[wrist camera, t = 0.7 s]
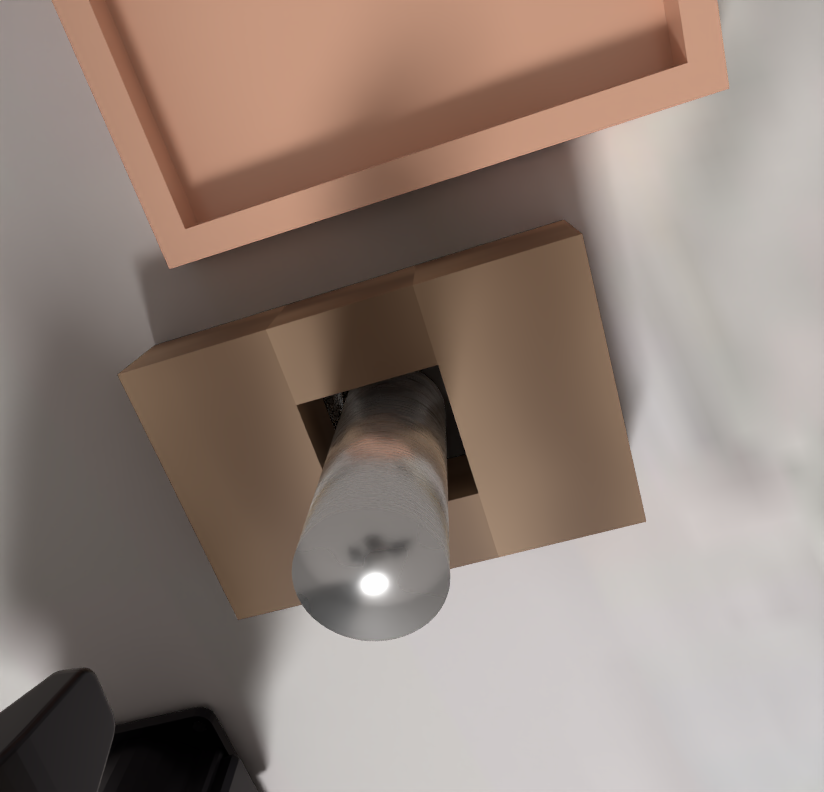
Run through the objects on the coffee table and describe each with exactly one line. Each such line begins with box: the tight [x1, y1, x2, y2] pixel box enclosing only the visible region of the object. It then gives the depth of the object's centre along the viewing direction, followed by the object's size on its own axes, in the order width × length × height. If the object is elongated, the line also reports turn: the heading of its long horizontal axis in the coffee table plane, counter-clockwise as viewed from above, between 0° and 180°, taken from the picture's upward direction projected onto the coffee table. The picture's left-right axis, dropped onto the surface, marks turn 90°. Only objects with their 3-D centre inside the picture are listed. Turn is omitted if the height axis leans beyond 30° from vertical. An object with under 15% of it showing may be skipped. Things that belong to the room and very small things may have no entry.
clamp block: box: [118, 220, 646, 620], centre depth 19 cm, size 12×8×2 cm, turn 108°
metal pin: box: [292, 371, 450, 641], centre depth 17 cm, size 3×3×8 cm
